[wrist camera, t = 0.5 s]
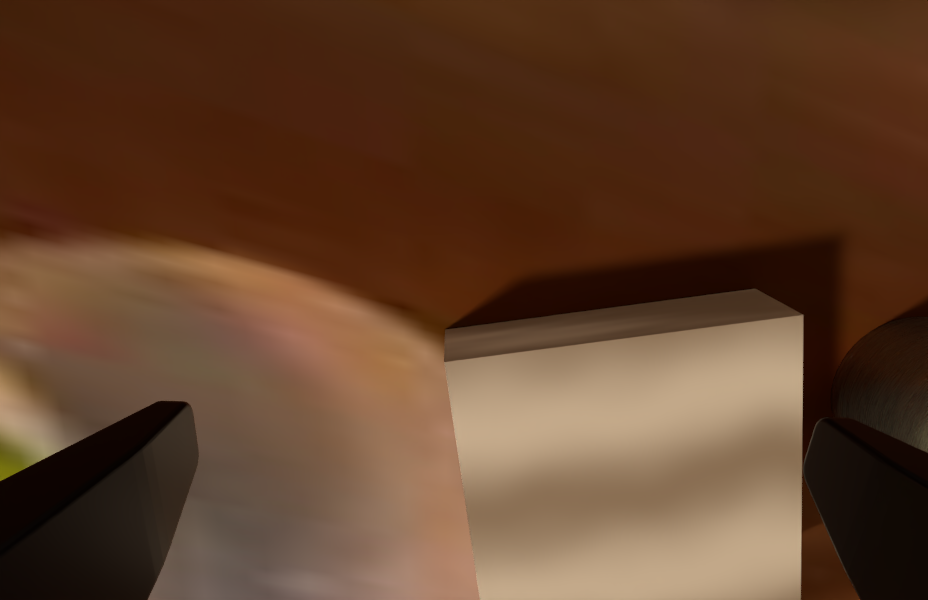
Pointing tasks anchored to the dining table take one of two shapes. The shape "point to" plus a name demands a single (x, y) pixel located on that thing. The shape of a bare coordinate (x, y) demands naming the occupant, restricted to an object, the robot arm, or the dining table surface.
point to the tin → (887, 381)
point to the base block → (634, 450)
